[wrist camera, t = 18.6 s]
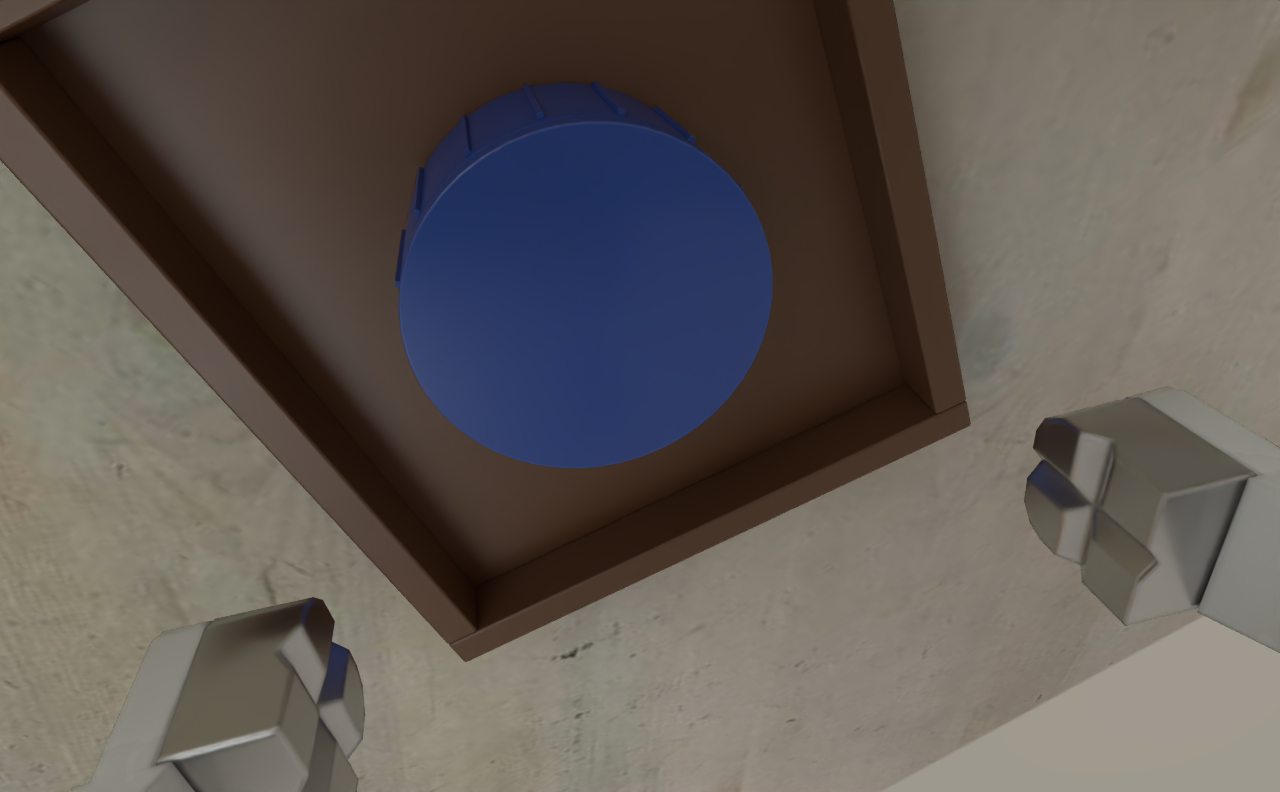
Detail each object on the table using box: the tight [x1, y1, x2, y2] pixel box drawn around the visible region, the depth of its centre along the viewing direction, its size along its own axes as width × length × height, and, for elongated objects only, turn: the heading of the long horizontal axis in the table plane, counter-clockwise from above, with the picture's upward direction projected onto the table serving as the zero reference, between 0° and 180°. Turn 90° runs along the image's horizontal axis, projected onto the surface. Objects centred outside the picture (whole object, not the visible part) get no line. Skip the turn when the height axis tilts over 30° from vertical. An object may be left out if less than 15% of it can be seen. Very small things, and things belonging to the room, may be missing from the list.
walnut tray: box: [0, 0, 971, 662], centre depth 15 cm, size 16×14×2 cm
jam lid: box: [394, 81, 773, 468], centre depth 14 cm, size 6×6×3 cm
